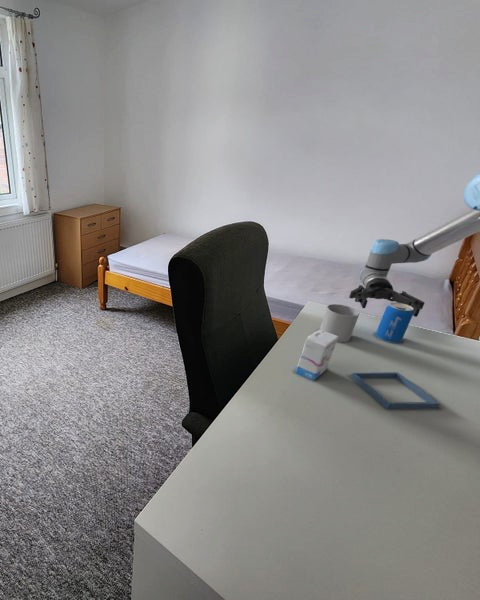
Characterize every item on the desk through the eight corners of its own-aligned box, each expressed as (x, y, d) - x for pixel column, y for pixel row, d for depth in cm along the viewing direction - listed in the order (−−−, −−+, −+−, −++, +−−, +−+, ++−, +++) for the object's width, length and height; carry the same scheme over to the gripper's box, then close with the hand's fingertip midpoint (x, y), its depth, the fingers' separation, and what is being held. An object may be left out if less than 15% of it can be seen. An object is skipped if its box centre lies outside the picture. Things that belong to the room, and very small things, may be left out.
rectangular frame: (394, 378, 93) (397, 372, 92) (437, 410, 82) (440, 403, 81) (349, 378, 93) (352, 372, 92) (385, 410, 82) (388, 404, 81)
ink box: (313, 382, 92) (326, 345, 87) (294, 373, 95) (305, 337, 90) (327, 371, 96) (339, 335, 91) (307, 362, 100) (318, 327, 95)
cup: (324, 341, 110) (333, 314, 106) (314, 329, 117) (322, 303, 113) (354, 344, 108) (364, 317, 104) (342, 331, 115) (352, 305, 111)
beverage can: (373, 339, 110) (386, 306, 105) (376, 332, 115) (389, 300, 109) (399, 346, 106) (414, 313, 101) (401, 339, 110) (416, 306, 105)
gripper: (416, 301, 126) (435, 326, 109) (335, 289, 137) (341, 311, 121) (425, 283, 123) (445, 306, 106) (341, 272, 134) (348, 291, 117)
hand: (390, 308), depth 113 cm, fingers open, 13 cm apart
